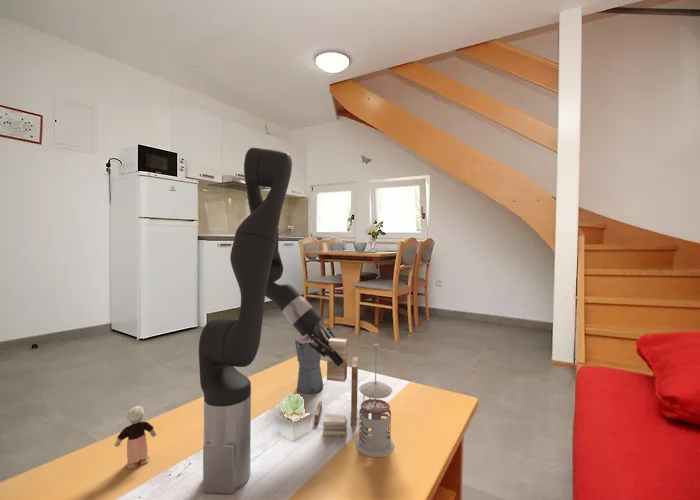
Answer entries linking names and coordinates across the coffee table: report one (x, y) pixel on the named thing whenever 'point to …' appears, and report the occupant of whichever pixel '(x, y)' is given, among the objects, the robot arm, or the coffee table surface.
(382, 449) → the french press
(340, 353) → the light wooden block
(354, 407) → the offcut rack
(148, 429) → the grandmother figurine
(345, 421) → the offcut stack
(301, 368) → the moka pot
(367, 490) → the coffee table surface
